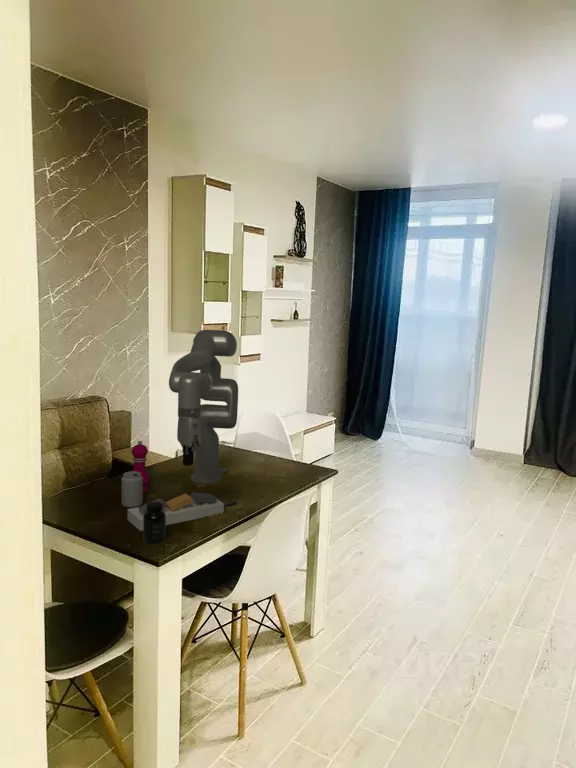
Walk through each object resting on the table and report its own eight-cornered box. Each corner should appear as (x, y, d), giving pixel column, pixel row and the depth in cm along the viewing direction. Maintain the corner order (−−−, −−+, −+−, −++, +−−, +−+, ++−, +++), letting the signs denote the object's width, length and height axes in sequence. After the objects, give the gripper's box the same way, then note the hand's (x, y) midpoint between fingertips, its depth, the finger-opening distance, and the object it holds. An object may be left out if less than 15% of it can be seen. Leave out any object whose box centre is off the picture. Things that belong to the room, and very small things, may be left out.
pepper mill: (125, 491, 230) (125, 441, 227) (138, 486, 237) (138, 437, 234) (140, 495, 227) (140, 444, 224) (152, 490, 234) (153, 440, 230)
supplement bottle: (167, 537, 192) (168, 501, 190) (162, 546, 185) (163, 509, 183) (146, 535, 192) (146, 499, 190) (140, 544, 185) (140, 507, 183)
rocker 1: (161, 502, 204) (160, 497, 204) (167, 506, 201) (165, 502, 200) (139, 512, 200) (138, 507, 200) (144, 516, 196) (143, 511, 196)
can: (145, 507, 216) (145, 475, 214) (124, 510, 212) (124, 477, 210) (139, 500, 222) (139, 469, 220) (119, 503, 218) (119, 471, 216)
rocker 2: (186, 497, 210) (185, 493, 209) (192, 502, 206) (191, 497, 206) (165, 507, 206) (164, 502, 205) (171, 511, 202) (170, 506, 201)
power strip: (227, 500, 226) (228, 489, 225) (242, 510, 217) (243, 498, 216) (127, 520, 203) (127, 507, 202) (139, 531, 194) (140, 518, 194)
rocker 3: (209, 498, 215) (210, 493, 215) (215, 502, 212) (217, 497, 212) (190, 497, 211) (191, 492, 211) (196, 501, 207) (197, 496, 207)
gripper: (209, 415, 199) (208, 469, 202) (189, 407, 211) (188, 457, 213) (189, 417, 194) (187, 472, 197) (169, 409, 206) (168, 460, 209)
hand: (188, 464), depth 205 cm, fingers closed
